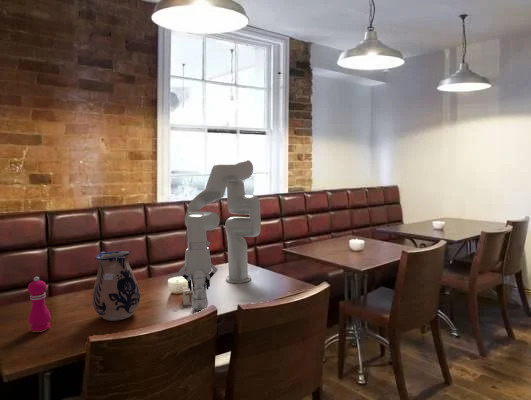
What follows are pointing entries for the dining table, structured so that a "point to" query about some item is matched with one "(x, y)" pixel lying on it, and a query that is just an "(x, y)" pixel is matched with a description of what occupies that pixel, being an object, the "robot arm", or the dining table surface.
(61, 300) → the dining table surface
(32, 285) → the pepper mill
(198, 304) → the silver metal bottle
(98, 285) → the ceramic pitcher
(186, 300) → the beige cube
